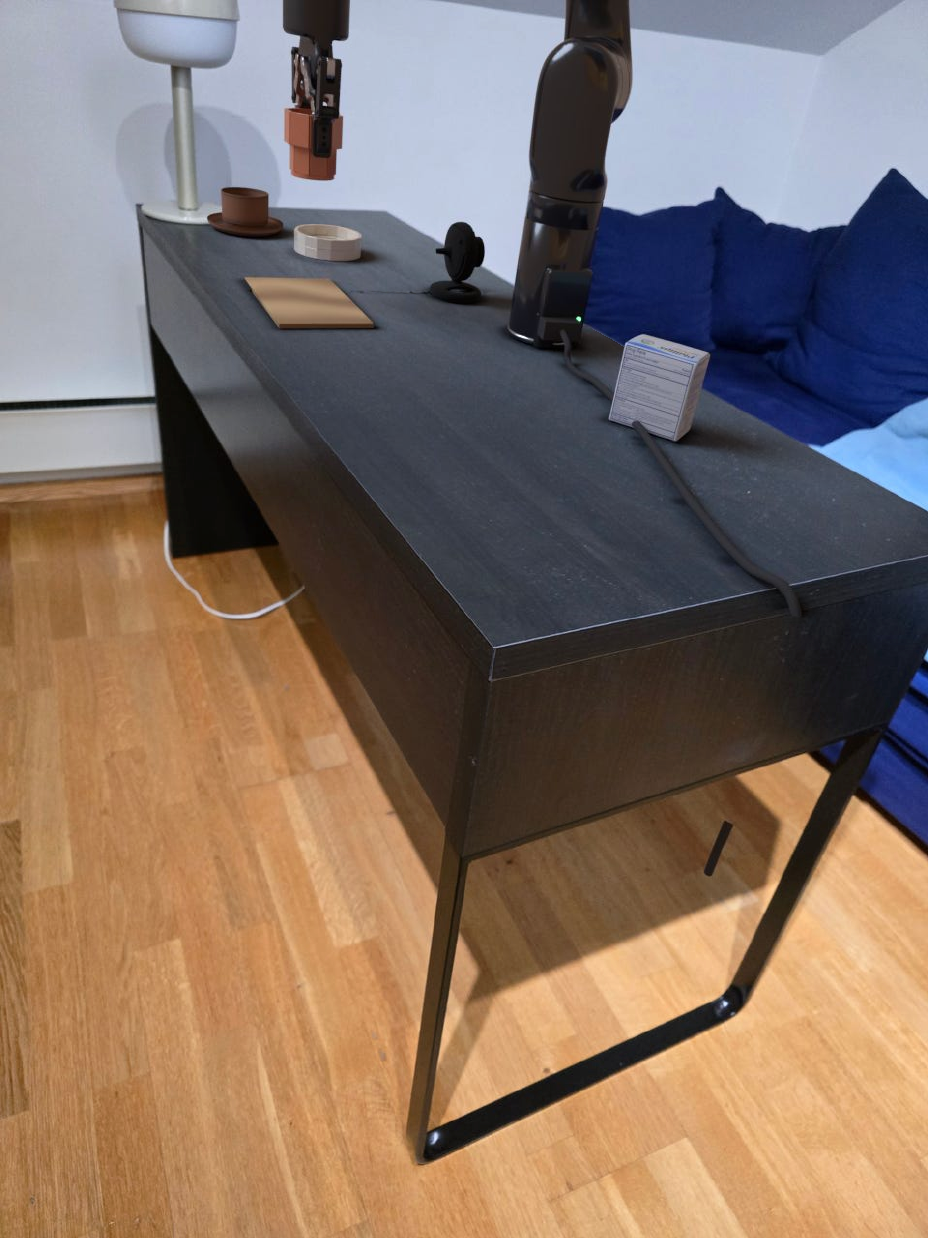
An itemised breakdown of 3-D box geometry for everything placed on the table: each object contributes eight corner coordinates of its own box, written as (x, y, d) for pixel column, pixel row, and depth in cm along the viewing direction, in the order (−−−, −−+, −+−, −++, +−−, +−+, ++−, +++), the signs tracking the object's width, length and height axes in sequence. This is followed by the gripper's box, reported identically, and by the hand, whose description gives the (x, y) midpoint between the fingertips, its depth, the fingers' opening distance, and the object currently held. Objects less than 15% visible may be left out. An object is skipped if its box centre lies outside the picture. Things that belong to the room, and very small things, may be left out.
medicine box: (690, 432, 94) (712, 352, 90) (675, 444, 91) (698, 362, 86) (623, 410, 97) (641, 332, 93) (606, 420, 94) (625, 340, 89)
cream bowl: (368, 265, 136) (370, 241, 134) (304, 263, 132) (304, 238, 130) (349, 248, 143) (350, 225, 141) (287, 246, 139) (287, 222, 137)
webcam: (489, 304, 126) (499, 229, 120) (442, 304, 123) (450, 228, 117) (467, 288, 132) (475, 216, 126) (421, 288, 129) (427, 214, 123)
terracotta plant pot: (345, 182, 109) (348, 118, 105) (292, 179, 106) (293, 113, 102) (331, 172, 114) (333, 110, 110) (280, 169, 111) (280, 105, 107)
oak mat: (373, 328, 111) (374, 323, 110) (279, 328, 106) (279, 323, 106) (329, 282, 125) (329, 278, 125) (244, 281, 121) (244, 276, 120)
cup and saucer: (198, 223, 145) (197, 182, 141) (270, 224, 150) (269, 185, 147) (219, 241, 136) (217, 198, 133) (293, 242, 142) (293, 201, 138)
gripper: (269, -21, 103) (270, 139, 112) (299, -16, 92) (297, 160, 102) (331, -11, 106) (327, 144, 115) (368, -6, 95) (360, 164, 105)
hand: (313, 151), depth 109 cm, fingers closed on terracotta plant pot, 6 cm apart
